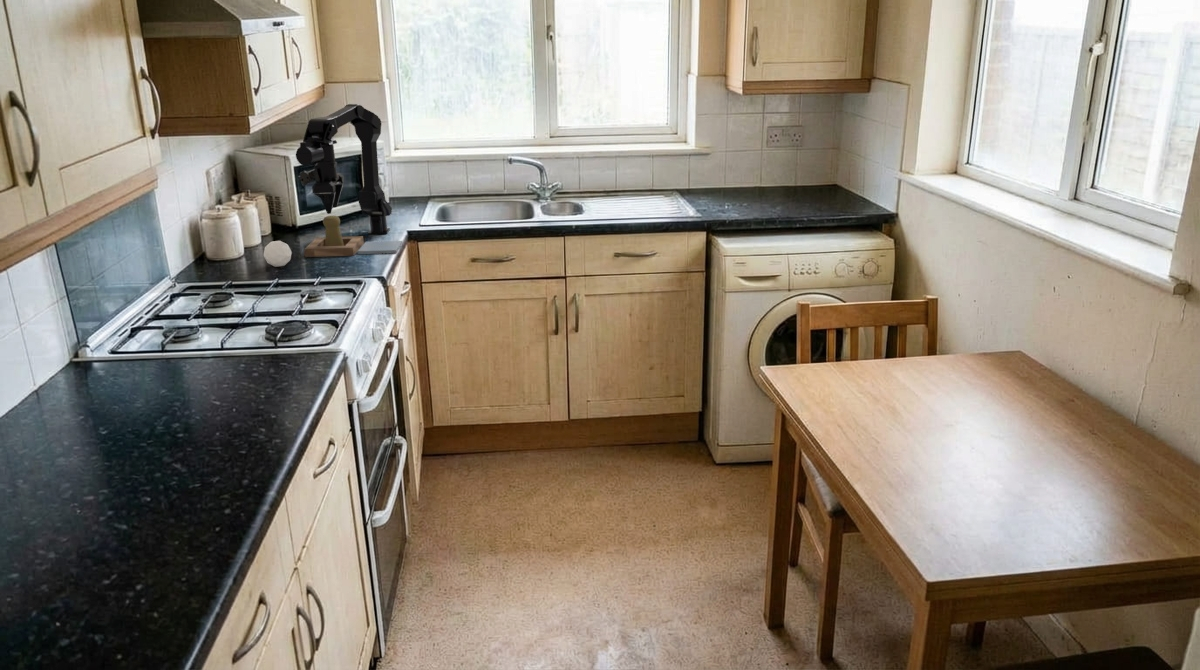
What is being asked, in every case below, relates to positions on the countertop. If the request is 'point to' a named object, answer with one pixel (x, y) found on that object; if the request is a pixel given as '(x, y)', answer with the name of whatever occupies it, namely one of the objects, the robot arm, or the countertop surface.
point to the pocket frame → (334, 247)
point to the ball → (277, 253)
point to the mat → (380, 247)
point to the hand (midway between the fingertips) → (332, 210)
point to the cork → (332, 231)
